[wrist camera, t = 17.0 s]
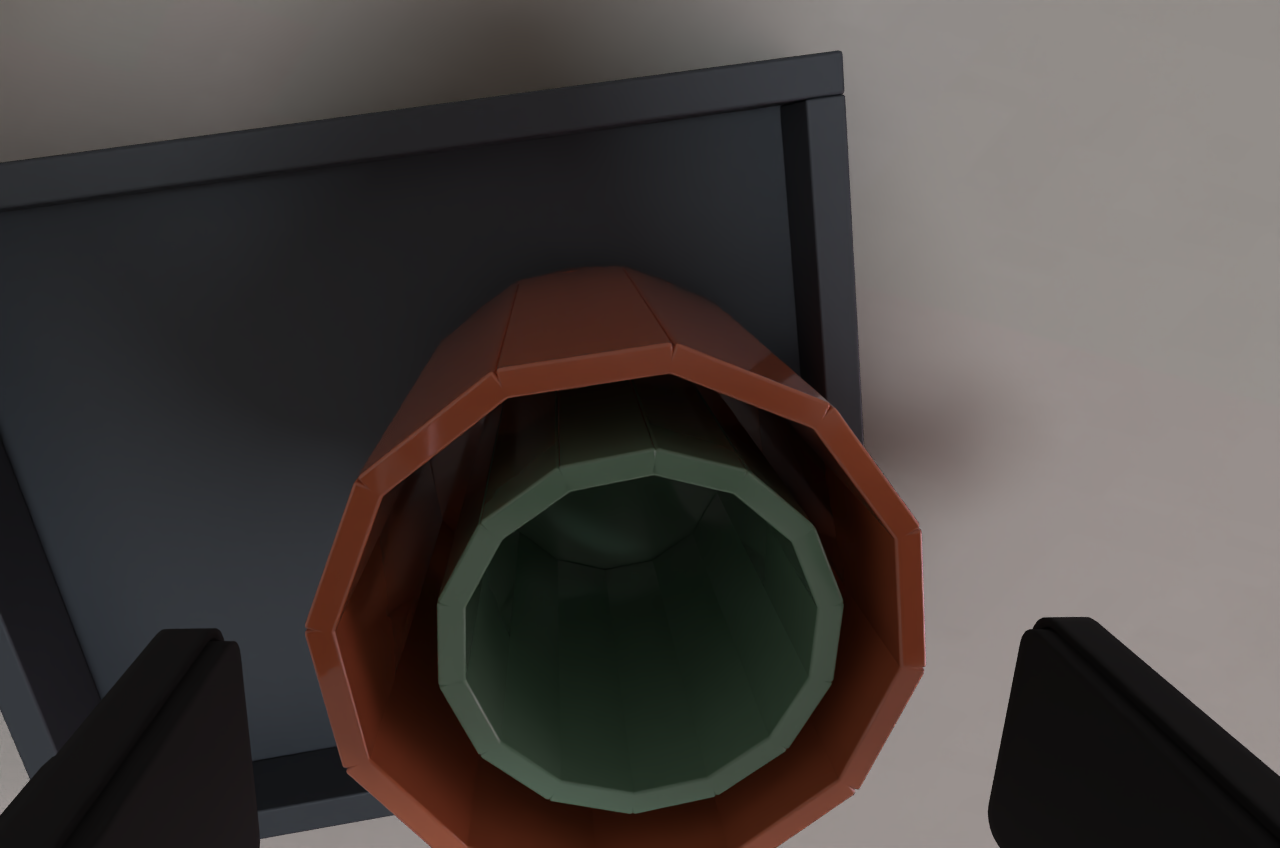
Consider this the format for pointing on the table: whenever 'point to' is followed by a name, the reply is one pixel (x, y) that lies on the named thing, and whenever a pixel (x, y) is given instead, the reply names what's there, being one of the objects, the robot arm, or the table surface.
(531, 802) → the terracotta cup
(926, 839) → the table surface
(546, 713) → the sage cup
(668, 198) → the tray
